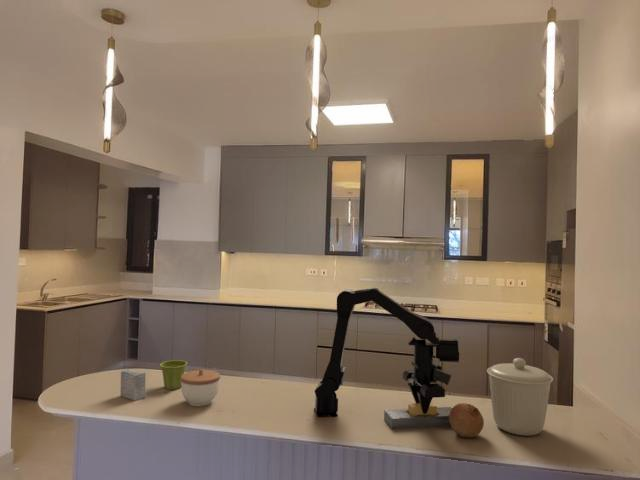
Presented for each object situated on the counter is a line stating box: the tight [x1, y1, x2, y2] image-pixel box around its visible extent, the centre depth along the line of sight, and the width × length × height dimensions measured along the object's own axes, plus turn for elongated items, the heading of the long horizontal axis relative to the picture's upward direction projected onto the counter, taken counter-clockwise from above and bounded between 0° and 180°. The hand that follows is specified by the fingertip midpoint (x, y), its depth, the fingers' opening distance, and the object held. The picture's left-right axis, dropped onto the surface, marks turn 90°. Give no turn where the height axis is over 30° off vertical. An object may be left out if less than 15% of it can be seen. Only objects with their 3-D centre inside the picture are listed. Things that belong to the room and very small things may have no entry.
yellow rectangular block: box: [407, 402, 438, 416], centre depth 136 cm, size 8×3×5 cm, turn 100°
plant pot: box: [159, 359, 188, 391], centre depth 163 cm, size 9×9×9 cm
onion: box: [449, 402, 485, 438], centre depth 128 cm, size 10×9×10 cm
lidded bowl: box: [181, 368, 221, 407], centre depth 148 cm, size 13×13×11 cm
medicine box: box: [120, 368, 147, 401], centre depth 152 cm, size 8×4×9 cm, turn 58°
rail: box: [383, 406, 453, 430], centre depth 136 cm, size 22×7×3 cm, turn 100°
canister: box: [486, 357, 554, 437], centre depth 133 cm, size 18×18×21 cm
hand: (422, 411), depth 136 cm, fingers open, 4 cm apart
